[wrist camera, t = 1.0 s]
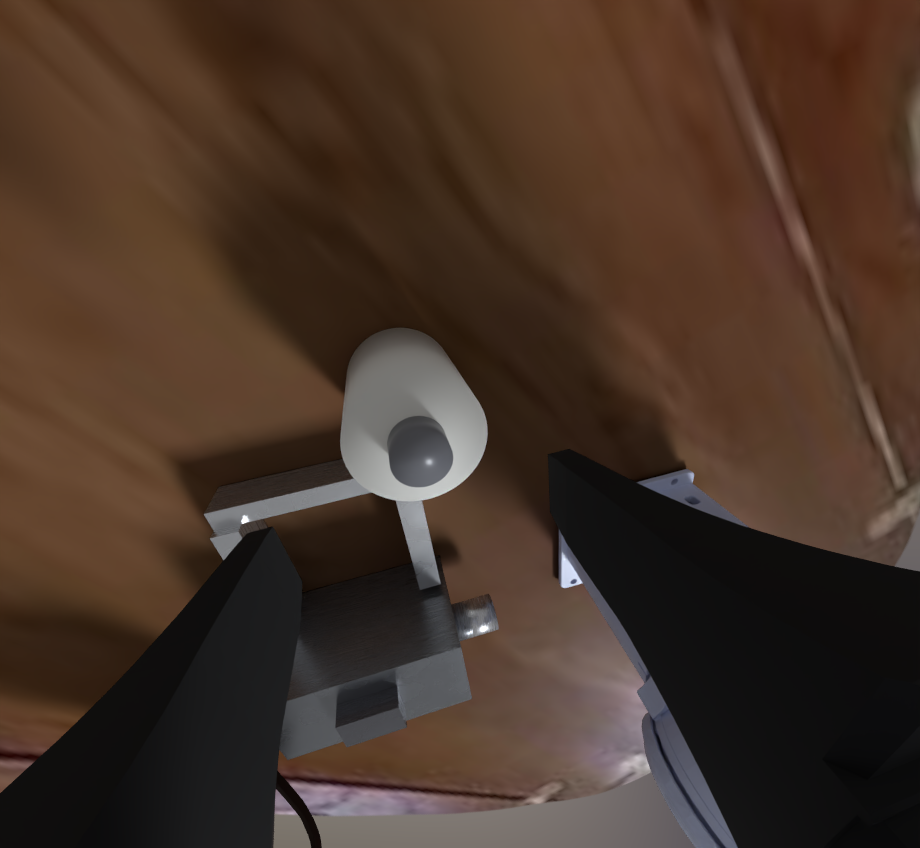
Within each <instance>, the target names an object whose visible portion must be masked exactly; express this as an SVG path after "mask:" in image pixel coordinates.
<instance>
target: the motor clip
mask: <svg viewBox="0 0 920 848" xmlns="http://www.w3.org/2000/svg"><path fill="white" fill-rule="evenodd" d="M367 493H371V492H370V491H369V490H367V489H366V488H364V487H363V486H362V485H360V484H359V483H358V482H357V481H356V480H355V479H354V478H353V476H352V475H351V474H350V472H349V471H348V469H347V467H346V465H345V463H344V461H343V459H340V460H335V461H331V462H326V463H322V464H318V465H313V466H309V467H304V468H300V469H296V470H291V471H287V472H282V473H278V474H274V475H269V476H265V477H261V478H256V479H252V480H247V481H243V482H239V483H234V484H230V485H225V486H221V487H218V489H217V491H216V493H215V495H214V496H213V498H212V500H211V502H210V504H209V505H208V507H207V509H206V511H205V513H204V515H205V517H206V519H207V520H208V522H209V524H210V525H211V527H212V529H213V530H214V531H213V533H212V535H211V537H210V540H211V541H212V543H213V544H214V546H215V548H216V549H217V551H218V552H219V554H220V556H221V557H222V559H223V560H224V559H225V558H226V557H227V556H228V555H229V553H230V552H231V551H232V550H233V549H234V547H235V546H236V545H237V544H238V543H239V542H240V540H241V539H242V538H243V537H244V536H245V535H246V534H247V533H250V532H253V531H257V530H261V529H265V528H268V526H267V524H266V522H265V520H264V518H268V517H272V516H276V515H280V514H284V513H289V512H293V511H297V510H301V509H305V508H309V507H313V506H317V505H322V504H326V503H330V502H334V501H338V500H342V499H346V498H350V497H355V496H359V495H363V494H367ZM396 504H397V507H398V511H399V515H400V518H401V522H402V526H403V529H404V533H405V537H406V540H407V544H408V548H409V551H410V555H411V559H412V562H413V563H410V564H407V565H403V566H399V567H396V568H392V569H388V570H385V571H381V572H377V573H374V574H370V575H366V576H363V577H359V578H355V579H352V580H348V581H344V582H341V583H337V584H333V585H330V586H326V587H322V588H319V589H315V590H311V591H308V592H304V593H302V604H301V621H300V628H299V635H298V640H297V646H296V652H295V658H294V664H293V669H292V675H291V681H290V686H289V692H288V698H287V703H286V709H285V715H284V720H283V726H282V733H281V740H280V747H279V750H280V751H281V752H282V753H283V755H284V756H285V757H286V758H287V759H288V760H289V759H292V758H295V757H298V756H301V755H304V754H307V753H310V752H313V751H316V750H319V749H322V748H325V747H328V746H331V745H334V744H337V743H340V742H344V743H345V745H346V747H349V746H352V745H355V744H358V743H361V742H364V741H367V740H370V739H373V738H376V737H379V736H382V735H385V734H388V733H391V732H394V731H397V730H400V729H403V728H406V727H407V722H406V720H409V719H412V718H415V717H418V716H421V715H424V714H428V713H431V712H434V711H437V710H440V709H443V708H446V707H449V706H452V705H455V704H458V703H461V702H464V701H467V700H470V699H472V696H471V692H470V687H469V682H468V678H467V673H466V668H465V664H464V659H463V654H462V650H461V645H460V641H462V640H466V639H469V638H472V637H475V636H479V635H482V634H485V633H488V632H492V631H495V630H498V629H499V628H498V621H497V617H496V613H495V609H494V606H493V603H492V600H491V597H490V595H489V594H486V595H482V596H479V597H475V598H472V599H468V600H465V601H462V602H458V603H455V604H451V603H450V598H449V594H448V590H447V586H446V582H445V577H444V573H443V569H442V565H441V560H440V556H436V557H435V556H434V551H433V547H432V543H431V538H430V534H429V529H428V525H427V521H426V516H425V512H424V507H423V503H422V500H420V501H397V500H396Z"/></svg>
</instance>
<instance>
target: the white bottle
mask: <svg viewBox="0 0 920 848" xmlns="http://www.w3.org/2000/svg"><path fill="white" fill-rule="evenodd" d="M487 436H488V430H487V421H486V417H485V414H484V411H483V409H482V407H481V405H480V403H479V402H478V400H477V399H476V397H475V396H474V394H473V393H472V391H471V390H470V388H469V387H468V385H467V384H466V382H465V381H464V379H463V378H462V376H461V375H460V373H459V372H458V370H457V369H456V367H455V366H454V364H453V363H452V361H451V360H450V358H449V357H448V355H447V354H446V352H445V351H444V349H443V348H442V347H441V346H440V345H439V343H438V342H437V341H435V340H434V339H433V338H432V337H430V336H428V335H427V334H425V333H423V332H420V331H418V330H414V329H409V328H390V329H386V330H382V331H380V332H377V333H375V334H373V335H372V336H370V337H368V338H367V339H366V340H364V341H363V342H362V343H361V344H360V345H359V346H358V348H357V349H356V350H355V352H354V353H353V355H352V357H351V359H350V362H349V364H348V369H347V376H346V386H345V396H344V406H343V416H342V425H341V436H340V447H341V453H342V457H343V461H344V463H345V465H346V467H347V469H348V471H349V472H350V474H351V475H352V476H353V478H354V479H355V480H356V481H357V482H358V483H359V484H360V485H362V486H363V487H364V488H366V489H367V490H369V491H370V492H372V493H374V494H376V495H378V496H381V497H384V498H387V499H392V500H397V501H420V500H425V499H430V498H433V497H437V496H439V495H442V494H444V493H446V492H448V491H450V490H452V489H454V488H455V487H456V486H458V485H459V484H461V483H462V482H463V481H464V480H465V479H466V478H467V477H468V476H469V475H470V474H471V473H472V472H473V471H474V469H475V468H476V467H477V465H478V464H479V462H480V460H481V458H482V456H483V453H484V451H485V447H486V443H487Z"/></svg>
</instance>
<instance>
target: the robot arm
mask: <svg viewBox="0 0 920 848" xmlns="http://www.w3.org/2000/svg"><path fill="white" fill-rule="evenodd" d="M548 467H549V495H550V512H551V514H552V516H553V518H554V520H555V522H556V524H557V526H558V528H559V584H560V586H561V587H562V588H568V587H571V586H574V585H578V584H581V583H583V584H584V586H585V588H586V589H587V591H588V592H589V594H590V596H591V597H592V599H593V600H594V602H595V604H596V605H597V607H598V609H599V610H600V612H601V613H602V615H603V617H604V618H605V620H606V621H607V623H608V625H609V626H610V628H611V630H612V631H613V633H614V634H615V636H616V638H617V639H618V641H619V642H620V644H621V646H622V647H623V649H624V650H625V652H626V654H627V655H628V657H629V659H630V660H631V662H632V663H633V665H634V667H635V668H636V670H637V671H638V673H639V675H640V676H641V678H642V679H643V681H644V683H645V684H644V685H643V686H642V687H641V688H640V689H639V690H638V691H637V693H638V695H639V697H640V699H641V700H642V702H643V704H644V705H645V707H646V709H647V710H648V713H647V714H645V716H644V718H643V720H642V733H643V739H644V748H645V753H646V757H647V760H648V763H649V766H650V769H651V772H652V774H653V776H654V779H655V781H656V783H657V785H658V787H659V789H660V791H661V793H662V795H663V797H664V799H665V801H666V803H667V805H668V806H669V808H670V810H671V812H672V813H673V815H674V817H675V818H676V820H677V821H678V823H679V825H680V826H681V828H682V829H683V831H684V832H685V834H686V835H687V836H688V838H689V839H690V840H691V842H692V843H693V845H694V846H695V847H696V848H920V572H919V571H913V570H908V569H904V568H899V567H894V566H889V565H885V564H881V563H877V562H872V561H868V560H864V559H860V558H855V557H851V556H847V555H843V554H839V553H835V552H831V551H827V550H823V549H820V548H816V547H812V546H808V545H805V544H801V543H798V542H794V541H791V540H788V539H784V538H781V537H777V536H774V535H771V534H767V533H764V532H761V531H758V530H754V529H751V528H749V527H748V526H747V525H745V524H744V523H743V522H741V521H740V520H739V519H737V518H736V517H735V516H734V515H732V514H731V513H730V512H728V511H727V510H726V509H725V508H723V507H722V506H721V505H719V504H718V503H717V502H716V501H714V500H713V499H712V498H710V497H709V496H708V495H707V494H705V493H704V492H703V491H701V490H700V489H699V488H698V487H696V486H695V485H694V484H692V483H693V478H694V473H693V472H692V471H690V470H689V469H684V470H681V471H677V472H673V473H669V474H666V475H662V476H658V477H654V478H650V479H647V480H643V481H639V482H634V481H632V480H630V479H628V478H626V477H624V476H622V475H620V474H618V473H616V472H614V471H612V470H610V469H608V468H606V467H604V466H603V465H601V464H599V463H597V462H595V461H593V460H591V459H589V458H587V457H585V456H583V455H581V454H579V453H577V452H575V451H573V450H570V449H567V450H563V451H559V452H555V453H552V454H548ZM301 604H302V580H301V579H300V577H299V575H298V573H297V571H296V569H295V567H294V565H293V563H292V562H291V560H290V558H289V556H288V554H287V552H286V550H285V548H284V547H283V545H282V543H281V541H280V539H279V537H278V535H277V533H276V531H275V530H274V528H273V527H269V528H265V529H261V530H257V531H253V532H250V533H247V534H246V535H245V536H244V537H243V538H242V539H241V540H240V542H239V543H238V544H237V545H236V546H235V547H234V549H233V550H232V551H231V552H230V553H229V555H228V556H227V557H226V558H225V559H224V561H223V562H222V563H221V564H220V565H219V567H218V568H217V569H216V570H215V572H214V573H213V574H212V575H211V576H210V578H209V579H208V580H207V581H206V582H205V584H204V585H203V586H202V587H201V588H200V590H199V591H198V592H197V593H196V594H195V596H194V597H193V598H192V599H191V600H190V602H189V603H188V604H187V605H186V606H185V607H184V609H183V610H182V611H181V612H180V613H179V615H178V616H177V617H176V618H175V619H174V620H173V621H172V622H171V623H170V625H169V626H168V627H167V628H166V629H165V630H164V631H163V632H162V634H161V635H160V636H159V637H158V638H157V639H156V640H155V641H154V642H153V644H152V645H151V646H150V647H149V648H148V649H147V650H146V651H145V653H144V654H143V655H142V656H141V657H140V658H139V659H138V660H137V661H136V663H135V664H134V665H133V666H132V667H131V668H130V669H129V670H128V671H127V672H126V673H125V674H124V675H123V676H122V677H121V678H120V679H119V680H118V681H117V683H116V684H115V685H114V686H113V687H112V688H111V689H110V690H109V691H108V692H107V693H106V694H105V695H104V696H103V697H102V698H101V699H100V700H99V701H98V702H97V703H96V704H95V705H94V706H93V707H92V708H91V709H90V710H89V711H88V712H87V713H86V714H85V715H84V716H83V717H82V718H81V719H80V720H79V721H78V722H77V723H76V724H75V725H74V726H73V727H71V728H70V729H69V730H68V731H67V732H66V733H65V734H64V735H63V736H62V737H61V738H60V739H59V740H58V741H57V742H56V743H55V744H53V745H52V746H51V747H50V748H49V749H48V750H47V751H46V752H45V753H44V754H43V755H41V756H40V757H39V758H38V759H37V760H36V761H35V762H34V763H33V764H32V765H31V766H29V767H28V768H27V769H26V770H25V771H24V772H23V773H22V774H21V775H20V776H19V777H17V778H16V779H15V780H14V781H13V782H12V783H11V784H10V785H9V786H8V787H7V788H5V789H4V790H3V791H2V792H1V793H0V848H271V847H272V832H273V816H274V803H275V791H276V779H277V768H278V756H279V747H280V740H281V733H282V726H283V720H284V715H285V709H286V703H287V698H288V692H289V686H290V681H291V675H292V669H293V664H294V658H295V652H296V646H297V640H298V635H299V628H300V621H301Z"/></svg>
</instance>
